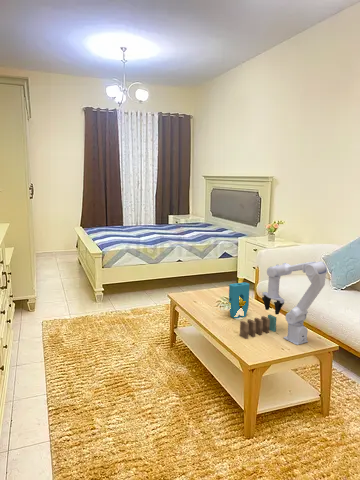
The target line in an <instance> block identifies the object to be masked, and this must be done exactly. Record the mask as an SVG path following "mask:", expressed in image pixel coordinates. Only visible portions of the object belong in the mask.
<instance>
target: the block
mask: <svg viewBox="0 0 360 480" xmlns="http://www.w3.org/2000/svg"><path fill="white" fill-rule="evenodd" d="M250 285H251V284H250V283H248V282H238V283H237V282H236V283H229V285H228V303H229V302H230V303H231V309H230V310H229V309H228V310H229V315H230V317H231V318H233V319H235V320H237V319H240V318H245V317H247V314H248V310H249V304H250V302H249V301H250ZM239 296H240V297H241V298H242V299H243V301H246V303H245V305H244V306H242V307H243V308H242V309H243V311H244V316H238V317H234V316H235V315H236V313H237V311H238V310H239V309H240V306H239Z"/></svg>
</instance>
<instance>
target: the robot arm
mask: <svg viewBox="0 0 360 480" xmlns="http://www.w3.org/2000/svg"><path fill="white" fill-rule="evenodd" d="M297 271H302V272H303V273H305V275H306V276H307V279H308V281H309V282H310V283H311V284H310V285H309V286H308V288H307V289H306V291H305V292H304V294H303V295H302V297H301V299H300V300H299V302H298V303H297V304H296V306H294V307H293V308H292V309H290V310H289V312H287V313H286V314H285V321H286V322H287V335H286V336H283V339H284V340H287V341H288V342H290V343H293V344H294V345H297V346H299V345H302V344H305V343H309V341H308V328H307V327H306V326H305V325H304V321H305V320H307V315H308V313H309V312H308V311H309V310H308V309H309V308H310V306H311V305H312V304H313V302H315V300H316V299H317V296H319V294H320V293H321V291H322V289H323V288H324V287H325V284H326V278H327V273H328V272H329V269H328V268H327V264H326V263H325V262H324V261H322V260H320V261H307V262H301V263H297V264H290V263H287V262H282V264H276V265H273V266H268V267H267V270H266V274H267V276H268V286H267V291H263V292H262V297H261V299H262V301H263V304H264V309H265V311H268V310H270V306H271V305H270V304H271V300H273V301H274V302H273V304H274V314H275V315H280V311H281V309H282V308H283V306H284V305H285V299H284V298H283V297H281V296H280V279H281V276H290V275H291V274H292V272H297Z"/></svg>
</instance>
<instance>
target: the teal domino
mask: <svg viewBox="0 0 360 480" xmlns="http://www.w3.org/2000/svg"><path fill="white" fill-rule="evenodd" d="M267 318H269V319H270V326H269V331H271V332H273V333H274V332H276V329H277V317H276V316H274V315H272V314H267Z"/></svg>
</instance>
